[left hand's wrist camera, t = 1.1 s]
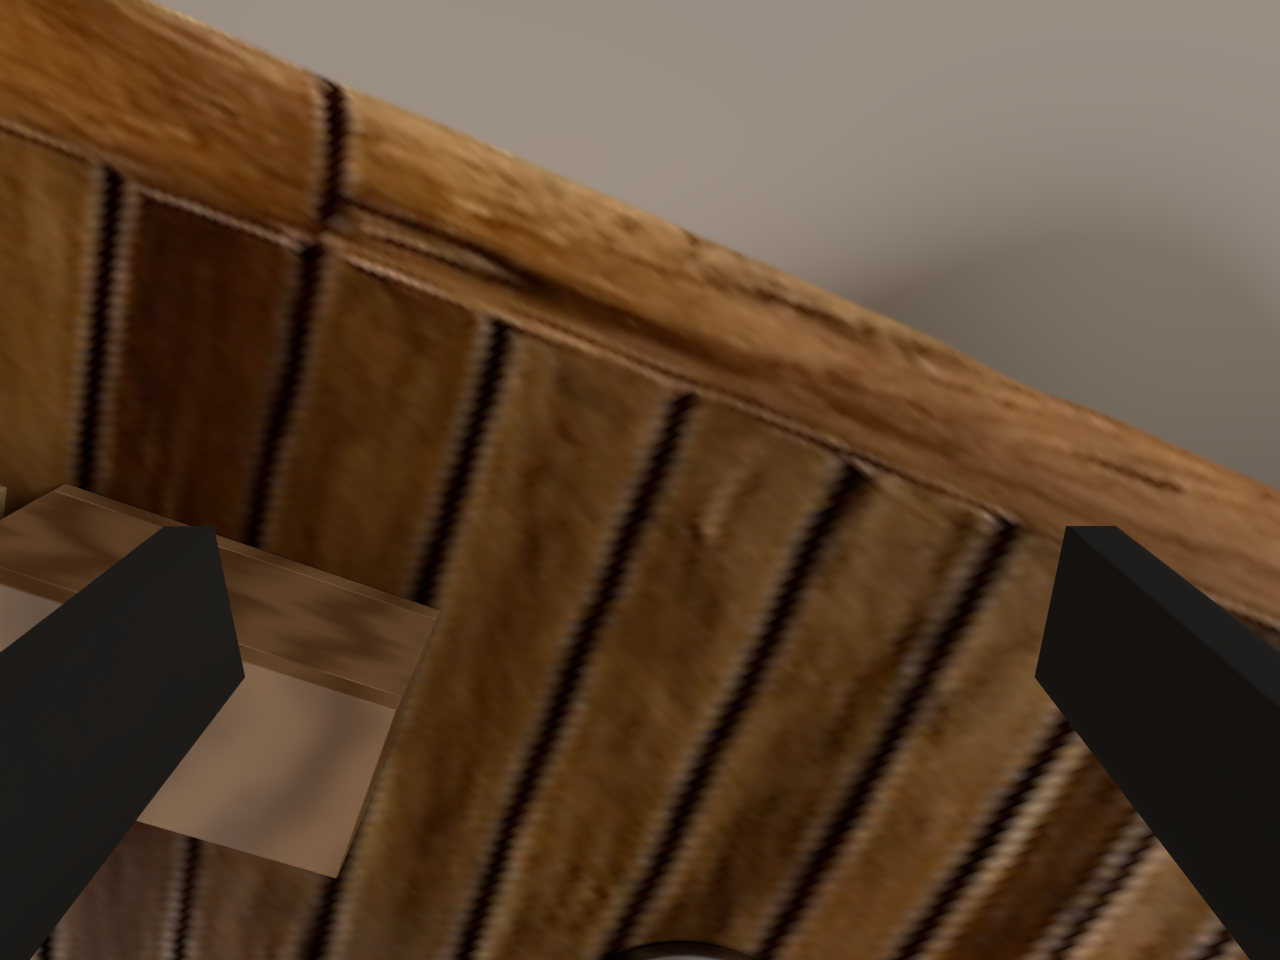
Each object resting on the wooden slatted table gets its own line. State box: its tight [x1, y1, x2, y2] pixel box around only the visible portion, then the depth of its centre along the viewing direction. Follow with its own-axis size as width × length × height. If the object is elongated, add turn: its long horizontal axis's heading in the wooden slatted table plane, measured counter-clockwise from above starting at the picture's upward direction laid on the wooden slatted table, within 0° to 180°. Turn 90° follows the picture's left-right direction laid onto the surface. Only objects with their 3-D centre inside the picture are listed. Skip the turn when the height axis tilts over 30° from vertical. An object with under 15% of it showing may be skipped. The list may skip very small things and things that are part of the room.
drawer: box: [0, 485, 7, 520], centre depth 37 cm, size 23×9×6 cm, turn 68°
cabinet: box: [0, 484, 439, 878], centre depth 38 cm, size 19×10×8 cm, turn 68°
